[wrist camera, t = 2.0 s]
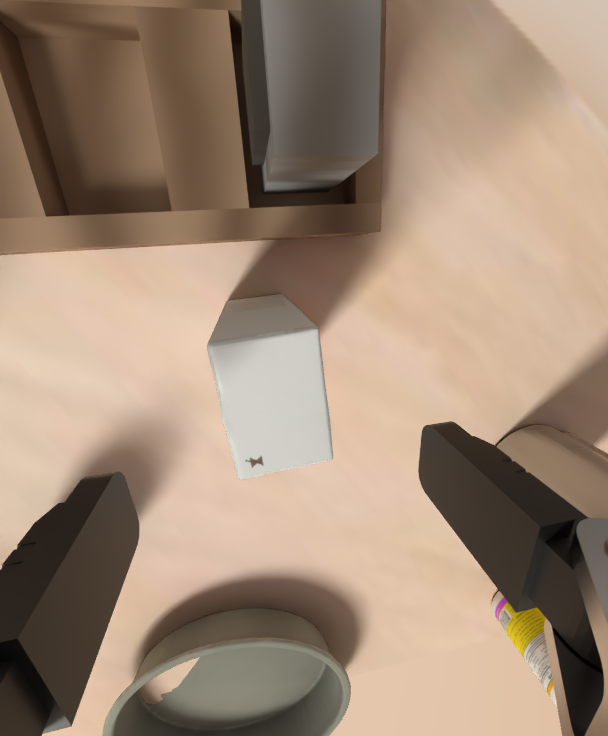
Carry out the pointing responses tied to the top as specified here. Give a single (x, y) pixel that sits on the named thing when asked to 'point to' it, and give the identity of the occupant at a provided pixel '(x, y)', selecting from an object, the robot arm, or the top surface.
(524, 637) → the supplement bottle
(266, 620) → the cake pan
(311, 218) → the wooden slotted rack
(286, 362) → the skincare box
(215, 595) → the top surface
